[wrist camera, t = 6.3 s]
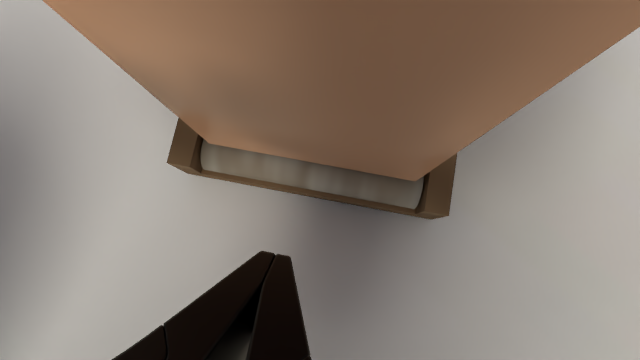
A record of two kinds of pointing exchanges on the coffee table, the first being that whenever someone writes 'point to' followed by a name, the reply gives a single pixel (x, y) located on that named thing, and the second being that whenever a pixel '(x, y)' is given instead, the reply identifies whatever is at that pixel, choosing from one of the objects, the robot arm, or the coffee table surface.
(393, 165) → the terracotta slab
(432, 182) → the roller track
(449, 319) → the coffee table surface
